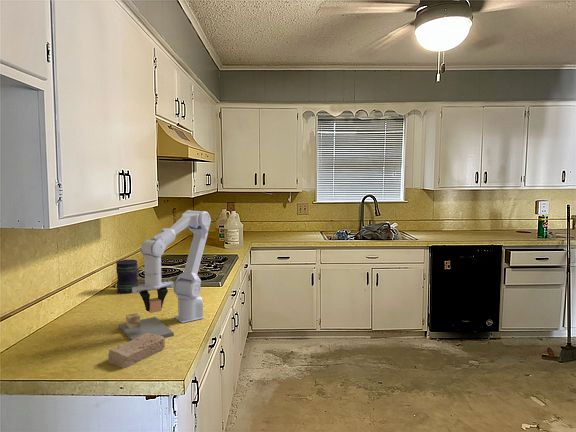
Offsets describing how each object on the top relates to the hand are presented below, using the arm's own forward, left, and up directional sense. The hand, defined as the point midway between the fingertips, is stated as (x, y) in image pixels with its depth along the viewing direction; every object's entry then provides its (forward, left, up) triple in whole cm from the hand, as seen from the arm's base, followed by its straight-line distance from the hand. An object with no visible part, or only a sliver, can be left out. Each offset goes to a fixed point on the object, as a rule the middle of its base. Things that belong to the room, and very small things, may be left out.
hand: (153, 309), depth 152 cm
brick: (+11, +16, -10) cm, 21 cm away
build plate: (+2, -3, -9) cm, 10 cm away
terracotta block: (0, 0, 0) cm, 1 cm away
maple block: (+5, -8, -8) cm, 12 cm away
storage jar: (-7, -61, -9) cm, 62 cm away
